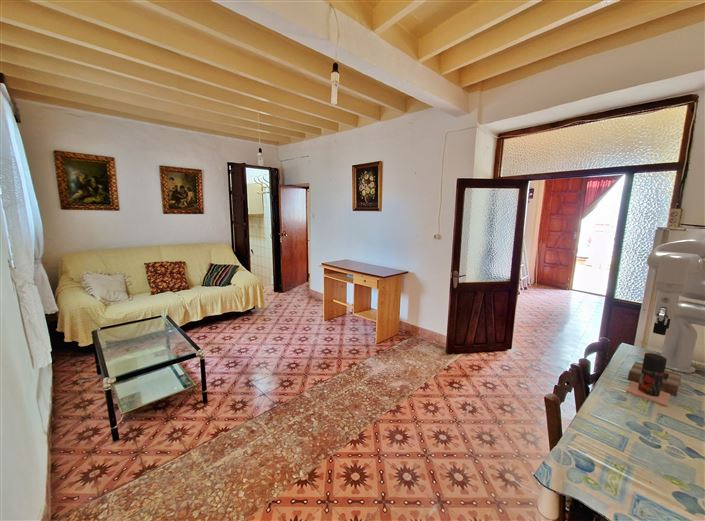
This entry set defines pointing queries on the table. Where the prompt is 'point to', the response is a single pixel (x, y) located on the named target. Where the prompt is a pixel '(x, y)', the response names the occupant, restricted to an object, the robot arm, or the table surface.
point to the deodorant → (652, 374)
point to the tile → (660, 399)
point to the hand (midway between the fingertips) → (660, 330)
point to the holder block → (668, 382)
